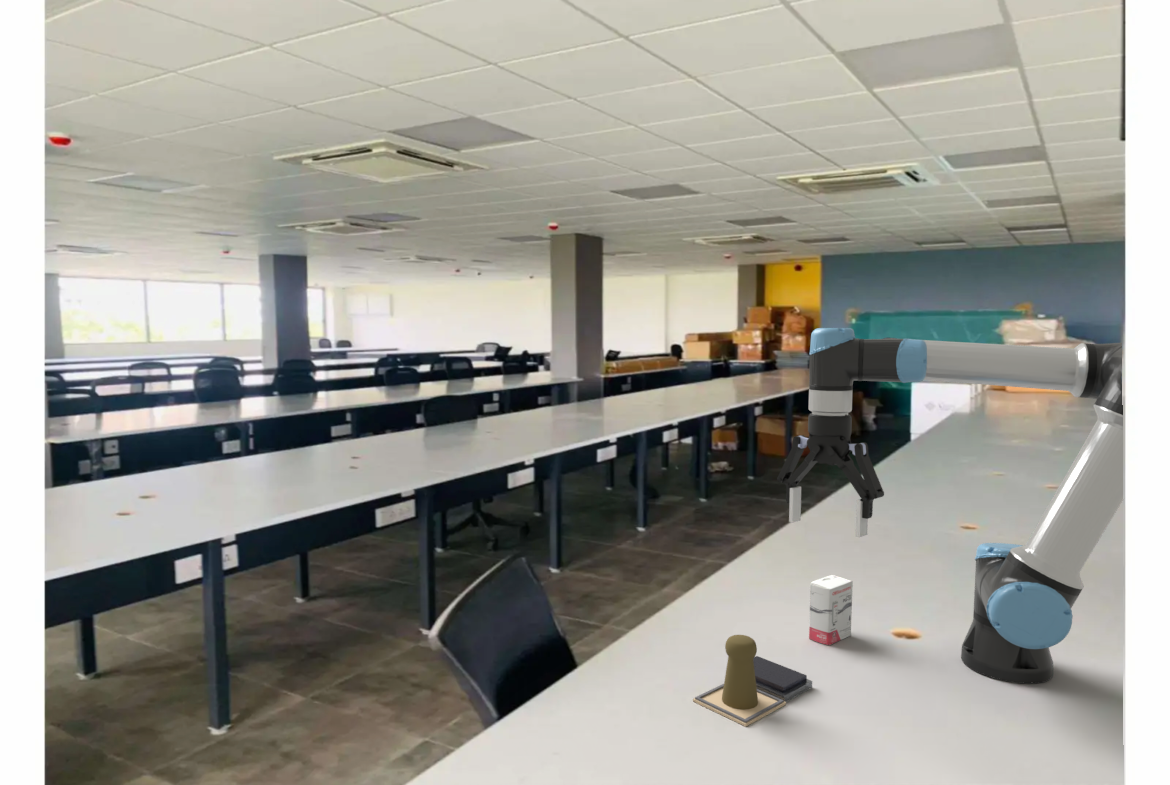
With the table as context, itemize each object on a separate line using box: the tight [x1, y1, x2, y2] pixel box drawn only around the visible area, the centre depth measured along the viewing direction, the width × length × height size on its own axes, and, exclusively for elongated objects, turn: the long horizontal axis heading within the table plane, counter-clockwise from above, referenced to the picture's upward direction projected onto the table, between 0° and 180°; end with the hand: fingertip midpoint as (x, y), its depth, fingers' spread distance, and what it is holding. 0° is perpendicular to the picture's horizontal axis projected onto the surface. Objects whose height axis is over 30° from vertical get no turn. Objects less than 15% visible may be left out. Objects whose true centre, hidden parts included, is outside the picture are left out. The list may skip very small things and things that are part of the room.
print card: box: [692, 683, 787, 727], centre depth 129 cm, size 11×11×1 cm
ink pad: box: [753, 655, 813, 703], centre depth 136 cm, size 12×8×2 cm
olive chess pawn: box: [722, 634, 758, 710], centre depth 129 cm, size 6×6×11 cm
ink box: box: [808, 574, 854, 646], centre depth 156 cm, size 9×5×12 cm, turn 129°
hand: (826, 528), depth 140 cm, fingers open, 13 cm apart
